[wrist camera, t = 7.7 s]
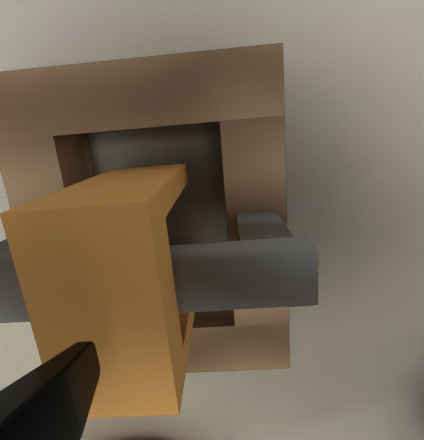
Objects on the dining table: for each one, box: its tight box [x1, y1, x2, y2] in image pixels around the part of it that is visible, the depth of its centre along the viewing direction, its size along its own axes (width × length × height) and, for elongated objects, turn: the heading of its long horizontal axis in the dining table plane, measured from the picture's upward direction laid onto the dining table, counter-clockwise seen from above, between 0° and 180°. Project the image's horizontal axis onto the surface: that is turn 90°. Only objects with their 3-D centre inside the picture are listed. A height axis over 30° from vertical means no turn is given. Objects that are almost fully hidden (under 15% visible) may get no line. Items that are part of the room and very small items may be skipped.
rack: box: [0, 43, 318, 373], centre depth 16 cm, size 17×14×10 cm
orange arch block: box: [0, 163, 195, 419], centre depth 14 cm, size 7×4×9 cm, turn 5°
